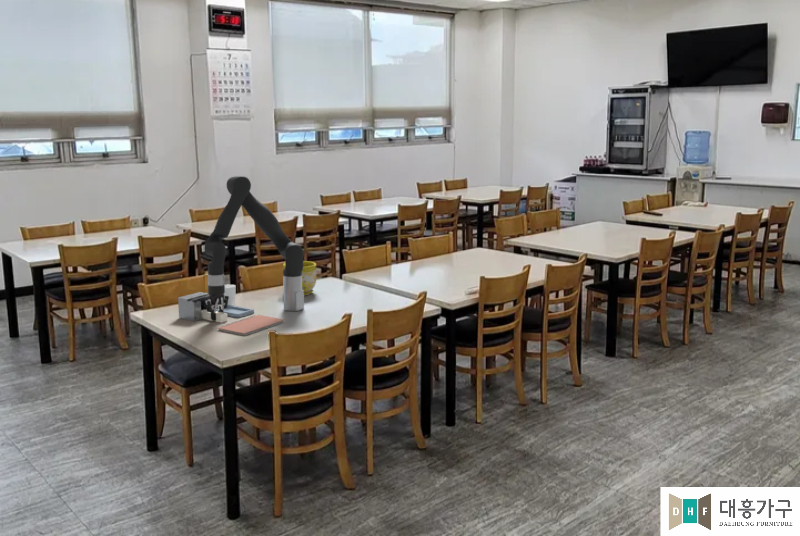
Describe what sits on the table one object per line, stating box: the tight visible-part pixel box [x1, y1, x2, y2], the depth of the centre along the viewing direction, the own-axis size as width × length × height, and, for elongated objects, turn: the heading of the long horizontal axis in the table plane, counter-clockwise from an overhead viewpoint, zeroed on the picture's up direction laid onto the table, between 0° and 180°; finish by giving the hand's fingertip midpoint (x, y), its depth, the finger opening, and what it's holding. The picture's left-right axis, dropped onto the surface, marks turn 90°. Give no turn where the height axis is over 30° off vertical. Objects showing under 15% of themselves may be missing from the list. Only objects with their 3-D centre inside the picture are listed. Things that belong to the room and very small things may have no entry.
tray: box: [216, 304, 255, 319], centre depth 356 cm, size 20×11×2 cm, turn 60°
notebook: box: [218, 314, 285, 337], centre depth 333 cm, size 27×17×2 cm, turn 149°
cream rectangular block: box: [201, 309, 228, 323], centre depth 343 cm, size 14×4×4 cm, turn 59°
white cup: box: [224, 283, 237, 306], centre depth 369 cm, size 8×8×10 cm
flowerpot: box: [282, 260, 317, 296], centre depth 397 cm, size 18×18×16 cm
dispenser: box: [177, 291, 215, 322], centre depth 347 cm, size 10×14×10 cm
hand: (217, 319), depth 342 cm, fingers closed on cream rectangular block, 4 cm apart
